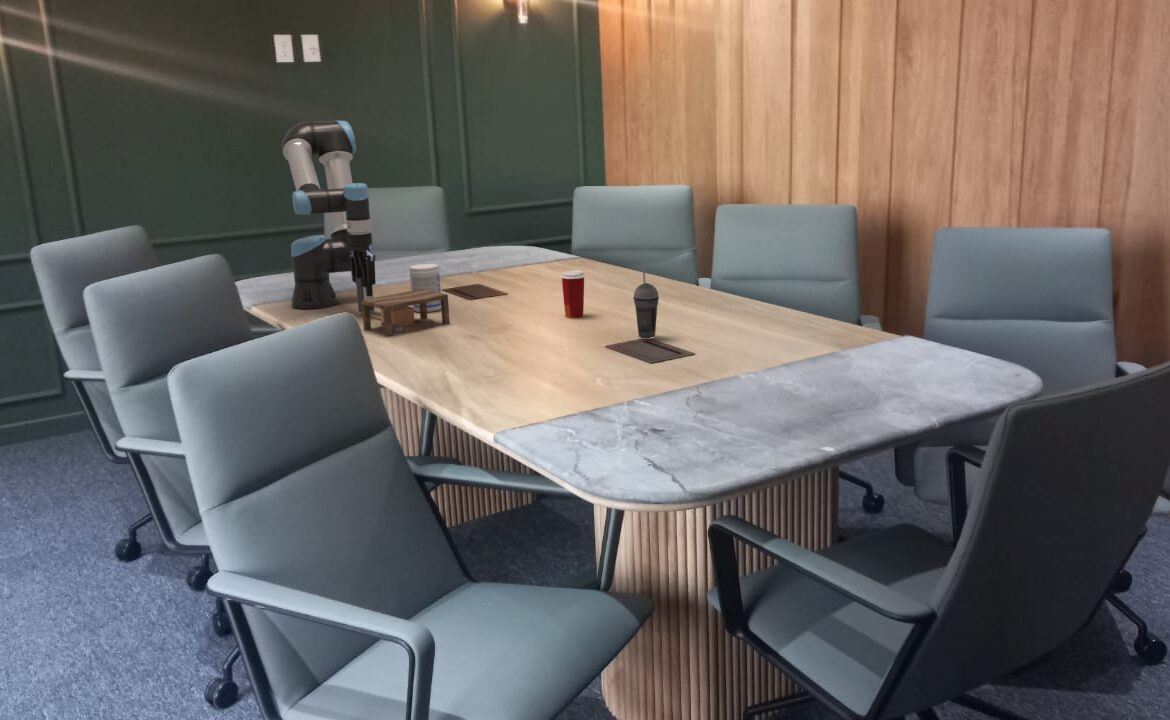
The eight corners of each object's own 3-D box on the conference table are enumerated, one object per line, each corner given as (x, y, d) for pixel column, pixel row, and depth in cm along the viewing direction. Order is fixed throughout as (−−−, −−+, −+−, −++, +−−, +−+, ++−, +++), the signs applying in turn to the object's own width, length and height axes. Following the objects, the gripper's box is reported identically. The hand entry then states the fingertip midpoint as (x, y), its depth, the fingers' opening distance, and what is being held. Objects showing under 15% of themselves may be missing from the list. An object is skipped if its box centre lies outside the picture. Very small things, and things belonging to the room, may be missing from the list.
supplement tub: (446, 310, 333) (443, 266, 329) (420, 314, 328) (417, 269, 324) (434, 305, 341) (431, 262, 337) (408, 309, 336) (404, 265, 332)
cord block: (355, 316, 328) (351, 278, 325) (373, 312, 332) (370, 275, 329) (395, 327, 310) (392, 287, 307) (414, 323, 315) (411, 284, 311)
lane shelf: (363, 329, 310) (361, 300, 307) (424, 317, 324) (422, 289, 321) (388, 336, 299) (385, 306, 297) (449, 323, 314) (447, 294, 311)
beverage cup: (642, 341, 283) (641, 271, 278) (629, 336, 290) (627, 267, 284) (664, 338, 287) (663, 268, 281) (651, 333, 293) (650, 264, 288)
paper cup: (590, 314, 320) (589, 270, 316) (580, 319, 313) (578, 275, 309) (568, 313, 323) (566, 269, 319) (557, 318, 316) (555, 273, 313)
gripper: (336, 232, 325) (343, 303, 331) (362, 236, 314) (368, 310, 320) (357, 229, 330) (363, 300, 336) (383, 233, 319) (389, 306, 325)
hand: (365, 304), depth 328 cm, fingers closed on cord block, 3 cm apart
